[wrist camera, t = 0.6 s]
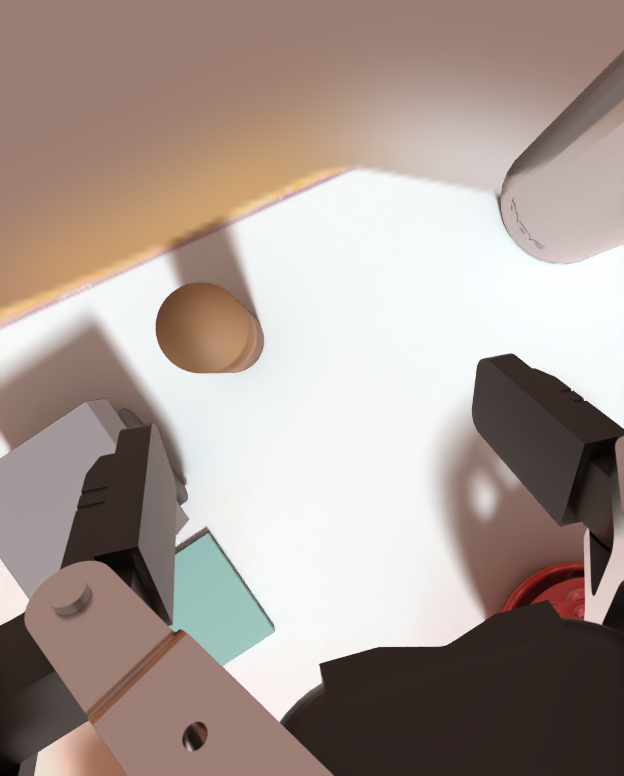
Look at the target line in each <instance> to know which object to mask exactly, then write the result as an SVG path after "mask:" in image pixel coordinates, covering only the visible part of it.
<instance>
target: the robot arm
mask: <svg viewBox="0 0 624 776" xmlns="http://www.w3.org/2000/svg"><path fill="white" fill-rule="evenodd" d="M501 213H502V217H503V221H504V224H505V226H506V228H507V230H508V232H509V234H510V236H511V237H512V239H513V240H514V241H515V242H516V244H517V245H518V246H519V247H520V248H521V249H523V250H524V251H525V252H526V253H528V254H529V255H531V256H533V257H535V258H537V259H539V260H541V261H545V262H549V263H554V264H568V263H574V262H579V261H582V260H584V259H587V258H589V257H592V256H594V255H597V254H599V253H602V252H604V251H607V250H610V249H612V248H615V247H618V246H620V245H623V244H624V50H623V51H622V52H621V53H620V54H619V55H618V56H617V57H616V58H615V59H614V60H613V62H612V63H610V64H609V66H608V67H607V68H606V69H605V70H604V71H603V72H602V73H601V74H600V75H599V76H598V77H597V78H596V79H595V80H594V81H593V82H592V83H591V84H590V85H589V86H588V87H587V88H586V89H585V90H584V91H583V92H582V93H581V94H580V95H579V96H578V97H577V98H576V99H575V100H574V101H573V102H572V103H571V104H570V105H569V106H568V107H567V108H566V109H565V110H564V111H563V112H562V113H561V114H560V115H559V116H558V117H557V118H556V119H555V121H553V122H552V123H551V124H550V126H548V127H547V128H546V129H545V130H544V131H543V132H542V133H541V135H539V137H538V138H537V139H536V140H535V141H534V142H533V143H532V144H531V145H530V146H529V147H528V148H527V149H526V150H525V151H524V152H523V153H522V154H521V155H520V156H519V157H518V158H517V159H516V160H515V161H514V163H513V165H512V166H511V168H510V169H509V171H508V172H507V175H506V177H505V180H504V183H503V186H502V192H501ZM472 417H473V421H474V424H475V427H476V429H477V431H478V432H479V433H480V435H481V436H482V437H483V438H484V439H485V440H486V442H487V443H488V444H489V445H490V446H491V447H492V449H493V450H494V451H495V452H496V453H497V454H498V455H499V457H500V458H501V459H502V460H503V461H504V462H505V464H506V465H507V466H508V467H509V468H510V469H511V470H512V472H513V473H514V474H515V475H516V476H517V477H518V479H519V480H520V481H521V482H522V483H523V484H524V486H525V487H526V488H527V489H528V490H529V491H530V492H531V494H532V495H533V496H534V497H535V498H536V499H537V501H538V502H539V503H540V504H541V505H542V506H543V507H544V509H545V510H546V511H547V512H548V513H549V514H550V516H551V517H552V518H553V519H554V520H555V521H556V522H557V524H558V525H559V526H560V527H561V526H565V525H569V524H573V523H577V522H581V521H582V522H583V523H584V524H585V526H586V527H587V529H586V532H585V535H584V572H585V615H584V620H580V619H572V618H561V617H560V616H559V614H558V613H557V612H556V610H555V609H554V607H553V606H552V605H551V603H550V602H549V600H545V601H541V602H538V603H534V604H531V605H527V606H523V607H520V608H516V609H513V610H509V611H506V612H502V613H498V614H495V615H493V616H492V617H490V618H489V619H487V620H486V621H484V622H483V623H481V624H479V625H478V626H476V627H475V628H473V629H472V630H470V631H469V632H467V633H466V634H464V635H463V636H461V637H460V638H458V639H456V640H455V641H453V642H452V643H450V644H448V645H446V646H441V647H377V648H374V649H370V650H367V651H363V652H360V653H356V654H352V655H349V656H345V657H342V658H338V659H335V660H331V661H327V662H324V663H320V664H319V665H320V672H321V678H322V683H321V684H320V685H318V686H317V687H315V688H314V689H312V690H310V691H309V692H308V693H307V694H306V695H304V696H303V697H302V698H301V699H300V700H298V701H297V702H296V704H295V705H294V706H293V707H292V708H291V709H290V710H289V711H288V712H287V713H286V714H285V716H284V717H283V719H282V720H281V721H280V723H279V722H278V721H277V720H276V719H275V718H274V717H273V716H272V715H271V714H270V713H269V712H268V711H267V710H266V709H265V708H264V707H263V706H262V705H261V704H260V703H259V702H258V701H257V700H256V699H255V698H254V697H253V696H252V695H251V694H250V693H249V692H248V691H247V690H246V689H245V688H244V687H243V686H242V685H241V684H240V683H239V682H238V681H237V680H236V679H234V678H233V677H232V676H231V675H230V674H229V673H228V672H227V671H226V670H225V669H224V668H223V667H222V666H221V665H220V664H219V663H218V662H217V661H216V660H215V659H214V658H213V657H212V656H211V655H210V654H209V653H208V652H207V651H206V650H205V649H204V648H203V647H202V646H201V645H200V644H199V643H198V642H197V641H196V640H195V639H194V638H192V637H191V636H190V635H189V634H188V633H186V632H185V631H183V630H181V629H179V630H178V631H177V632H175V631H173V630H172V629H171V628H170V627H169V626H170V625H173V606H174V572H175V539H176V505H177V494H176V486H175V480H174V476H173V472H172V469H171V466H170V463H169V460H168V457H167V454H166V451H165V448H164V445H163V442H162V439H161V436H160V434H159V431H158V428H157V426H156V424H155V423H151V424H146V425H141V426H136V427H131V428H126V429H121V430H120V432H119V436H118V440H117V445H116V450H115V453H113V454H108V455H103V456H100V457H99V458H98V459H97V461H96V462H95V463H94V464H93V466H92V467H91V468H90V469H89V471H88V472H87V473H86V476H85V479H84V483H83V487H82V490H81V494H82V495H81V496H80V498H79V501H78V505H77V511H76V512H75V516H74V520H73V523H72V527H71V531H70V534H69V538H68V542H67V545H66V549H65V553H64V556H63V560H62V564H61V567H60V570H59V571H58V572H56V573H54V574H53V575H52V576H50V577H49V578H48V579H47V580H45V581H44V582H43V583H42V584H41V585H40V586H39V588H38V589H37V590H36V591H35V592H34V594H33V595H32V597H31V599H30V600H29V603H28V605H27V607H26V611H25V612H24V613H22V614H21V615H19V616H17V617H16V618H14V619H12V620H10V621H8V622H6V623H4V624H2V625H0V776H34V772H35V766H36V761H37V755H38V752H39V751H40V750H42V749H44V748H45V747H47V746H48V745H50V744H52V743H53V742H55V741H56V740H58V739H60V738H61V737H63V736H64V735H66V734H68V733H69V732H71V731H72V730H74V729H76V728H77V727H79V726H80V725H82V724H84V723H85V722H87V721H88V720H89V721H90V722H91V724H92V726H93V727H94V728H95V730H96V731H97V733H98V734H99V736H100V737H101V739H102V740H103V742H104V743H105V744H106V746H107V747H108V749H109V750H110V752H111V753H112V755H113V756H114V757H115V759H116V760H117V762H118V763H119V765H120V766H121V768H122V769H123V770H124V772H125V773H126V775H127V776H624V429H623V428H622V427H620V426H619V425H618V424H617V423H615V422H614V421H613V420H611V419H610V418H609V417H607V416H606V415H605V414H603V413H602V412H601V411H599V410H598V409H597V408H596V407H594V406H593V405H592V404H590V403H589V402H588V401H584V400H583V398H582V397H581V396H580V395H578V394H577V393H576V392H575V391H571V388H569V387H568V386H567V385H565V384H564V383H563V382H561V381H560V380H559V379H557V378H556V377H554V376H552V375H550V374H547V373H545V372H542V371H540V370H537V369H535V368H534V369H532V368H531V367H530V366H528V365H527V364H526V363H524V362H523V361H522V360H521V359H519V358H518V357H517V356H515V355H514V354H504V355H499V356H494V357H489V358H484V359H481V360H480V361H479V363H478V365H477V371H476V379H475V387H474V396H473V404H472Z"/></svg>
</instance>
